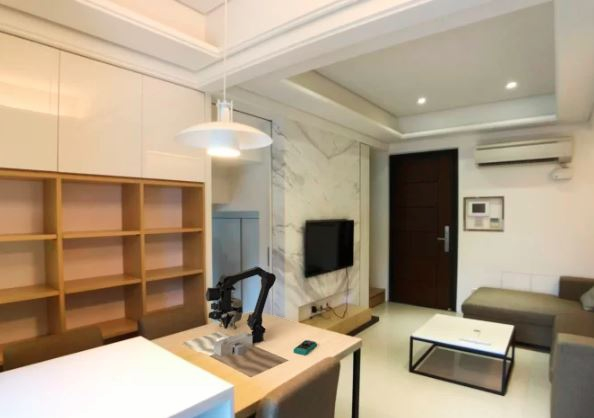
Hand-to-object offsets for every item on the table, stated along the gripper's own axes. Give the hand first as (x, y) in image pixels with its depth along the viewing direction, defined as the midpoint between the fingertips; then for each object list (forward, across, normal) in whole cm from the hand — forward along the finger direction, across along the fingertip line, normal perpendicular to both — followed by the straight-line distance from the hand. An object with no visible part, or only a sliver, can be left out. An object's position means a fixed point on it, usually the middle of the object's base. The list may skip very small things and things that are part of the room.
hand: (225, 328), depth 184 cm
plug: (+10, 0, +4) cm, 11 cm away
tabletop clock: (+11, -25, -26) cm, 37 cm away
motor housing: (+11, 0, +7) cm, 13 cm away
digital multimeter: (+12, -28, +32) cm, 44 cm away
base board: (+11, 0, +6) cm, 13 cm away
